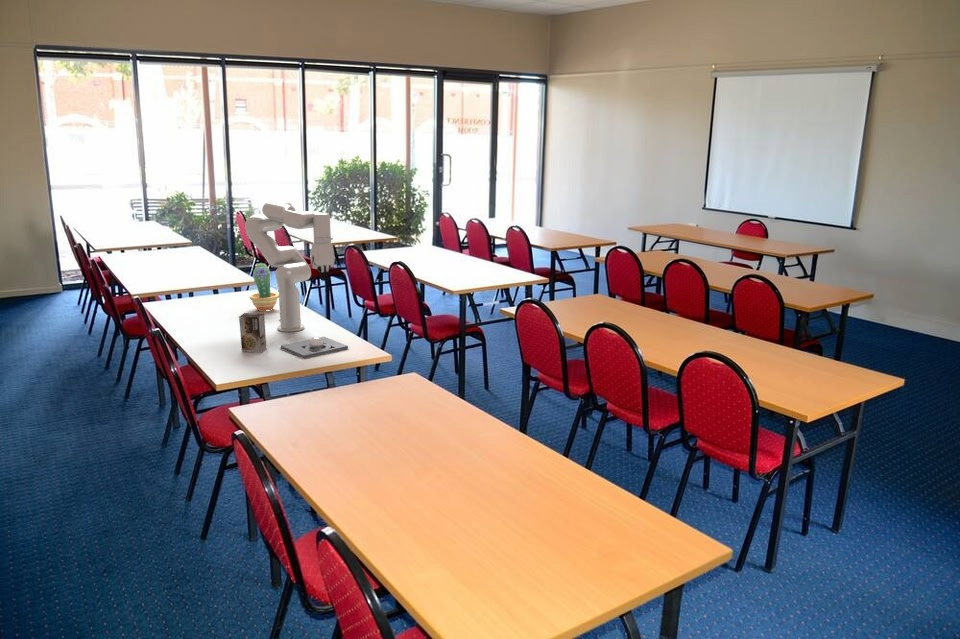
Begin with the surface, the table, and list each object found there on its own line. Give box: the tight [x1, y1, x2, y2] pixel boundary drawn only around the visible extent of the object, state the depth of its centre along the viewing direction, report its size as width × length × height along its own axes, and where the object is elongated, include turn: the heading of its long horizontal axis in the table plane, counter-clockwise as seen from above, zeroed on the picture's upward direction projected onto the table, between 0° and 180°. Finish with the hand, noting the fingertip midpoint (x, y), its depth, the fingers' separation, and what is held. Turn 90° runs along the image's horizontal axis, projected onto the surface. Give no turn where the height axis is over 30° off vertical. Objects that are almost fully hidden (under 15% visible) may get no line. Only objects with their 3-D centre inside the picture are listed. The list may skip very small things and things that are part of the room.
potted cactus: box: [248, 263, 279, 311], centre depth 390 cm, size 15×15×25 cm
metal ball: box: [309, 336, 323, 349], centre depth 321 cm, size 6×6×6 cm
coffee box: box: [238, 312, 267, 353], centre depth 319 cm, size 9×6×16 cm
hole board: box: [280, 336, 349, 360], centre depth 324 cm, size 20×22×2 cm
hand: (324, 280), depth 336 cm, fingers closed
